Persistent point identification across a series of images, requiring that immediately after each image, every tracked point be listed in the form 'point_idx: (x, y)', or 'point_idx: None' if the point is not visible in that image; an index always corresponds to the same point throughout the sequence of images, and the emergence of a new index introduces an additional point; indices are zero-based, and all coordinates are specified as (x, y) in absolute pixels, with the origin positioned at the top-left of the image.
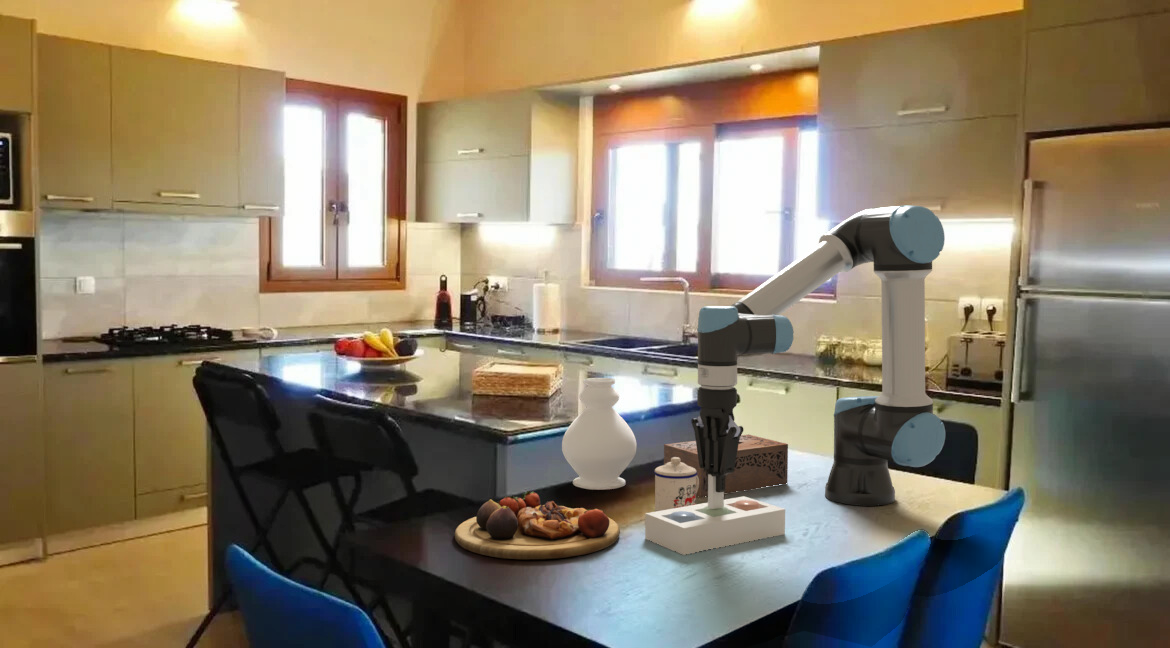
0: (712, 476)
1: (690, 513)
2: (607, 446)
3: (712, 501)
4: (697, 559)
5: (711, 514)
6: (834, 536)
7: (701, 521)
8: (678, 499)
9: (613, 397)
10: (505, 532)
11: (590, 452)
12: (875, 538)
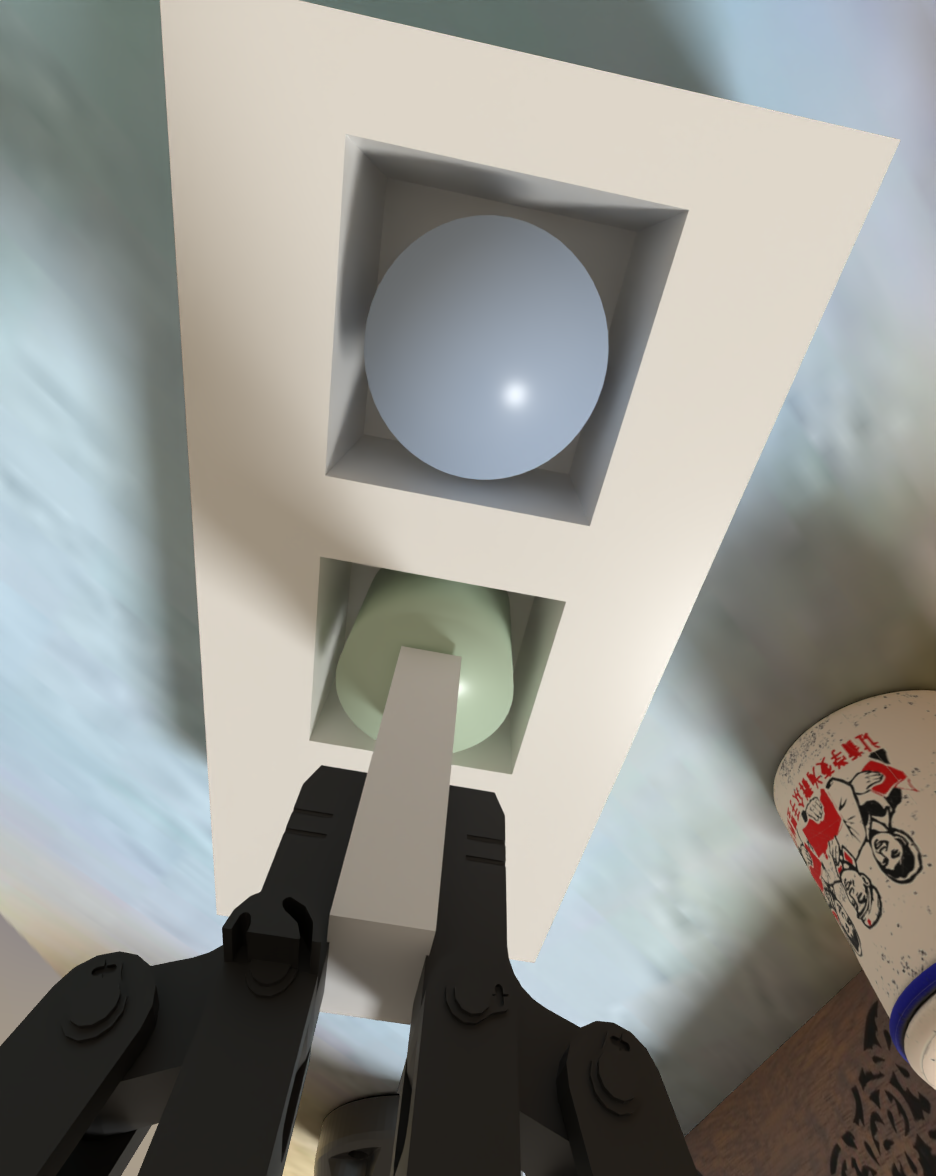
0: (347, 906)
1: (461, 444)
2: None
3: (397, 686)
4: (140, 82)
5: (395, 604)
6: (145, 879)
7: (271, 370)
8: (879, 794)
9: None
10: None
11: None
12: (60, 927)
